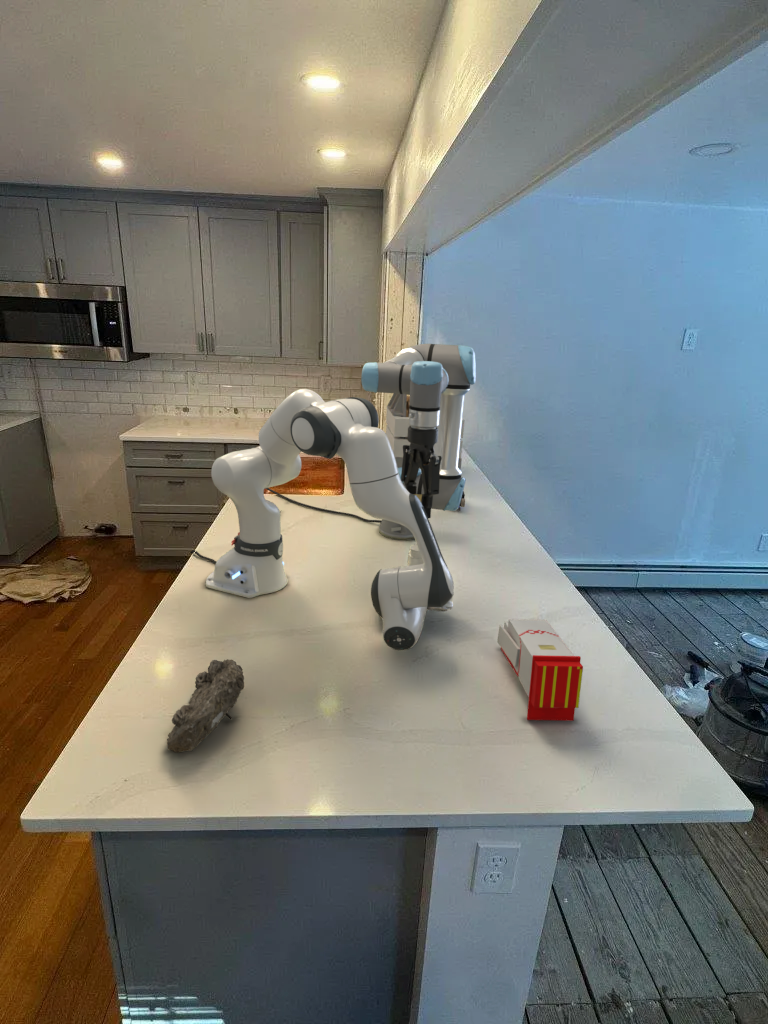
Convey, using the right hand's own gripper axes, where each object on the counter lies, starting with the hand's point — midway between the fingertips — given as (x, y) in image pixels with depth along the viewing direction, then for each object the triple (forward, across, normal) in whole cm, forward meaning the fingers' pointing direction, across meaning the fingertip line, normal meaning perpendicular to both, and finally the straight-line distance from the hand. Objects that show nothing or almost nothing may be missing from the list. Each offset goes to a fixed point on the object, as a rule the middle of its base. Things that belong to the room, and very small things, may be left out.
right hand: (417, 513), depth 148 cm
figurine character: (+26, -56, +59) cm, 85 cm away
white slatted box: (+26, -102, +74) cm, 129 cm away
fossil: (+24, +22, -61) cm, 69 cm away
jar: (+25, +3, -1) cm, 25 cm away
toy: (+24, +42, +2) cm, 49 cm away
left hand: (+18, +2, 0) cm, 18 cm away
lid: (-4, 0, 0) cm, 4 cm away
